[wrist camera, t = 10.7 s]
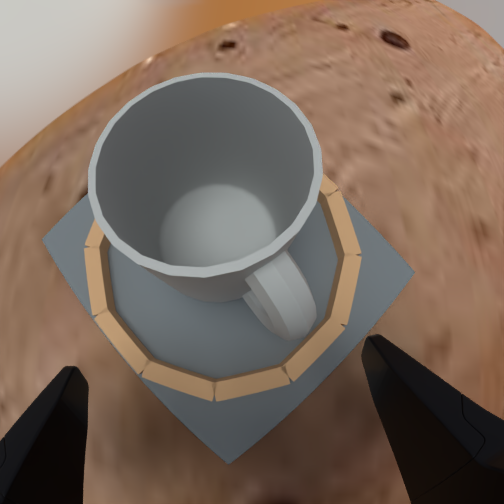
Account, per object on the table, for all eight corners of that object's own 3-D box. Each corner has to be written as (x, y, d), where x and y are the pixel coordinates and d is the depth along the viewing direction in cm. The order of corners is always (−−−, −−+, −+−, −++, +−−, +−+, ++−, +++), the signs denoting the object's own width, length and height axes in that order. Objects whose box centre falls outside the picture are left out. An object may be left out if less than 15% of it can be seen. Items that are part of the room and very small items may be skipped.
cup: (235, 161, 19) (235, 49, 10) (335, 295, 17) (423, 261, 8) (133, 224, 17) (62, 142, 9) (229, 372, 16) (220, 421, 7)
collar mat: (410, 274, 18) (425, 268, 16) (228, 460, 15) (228, 473, 13) (220, 97, 20) (219, 80, 19) (46, 241, 17) (32, 234, 16)
